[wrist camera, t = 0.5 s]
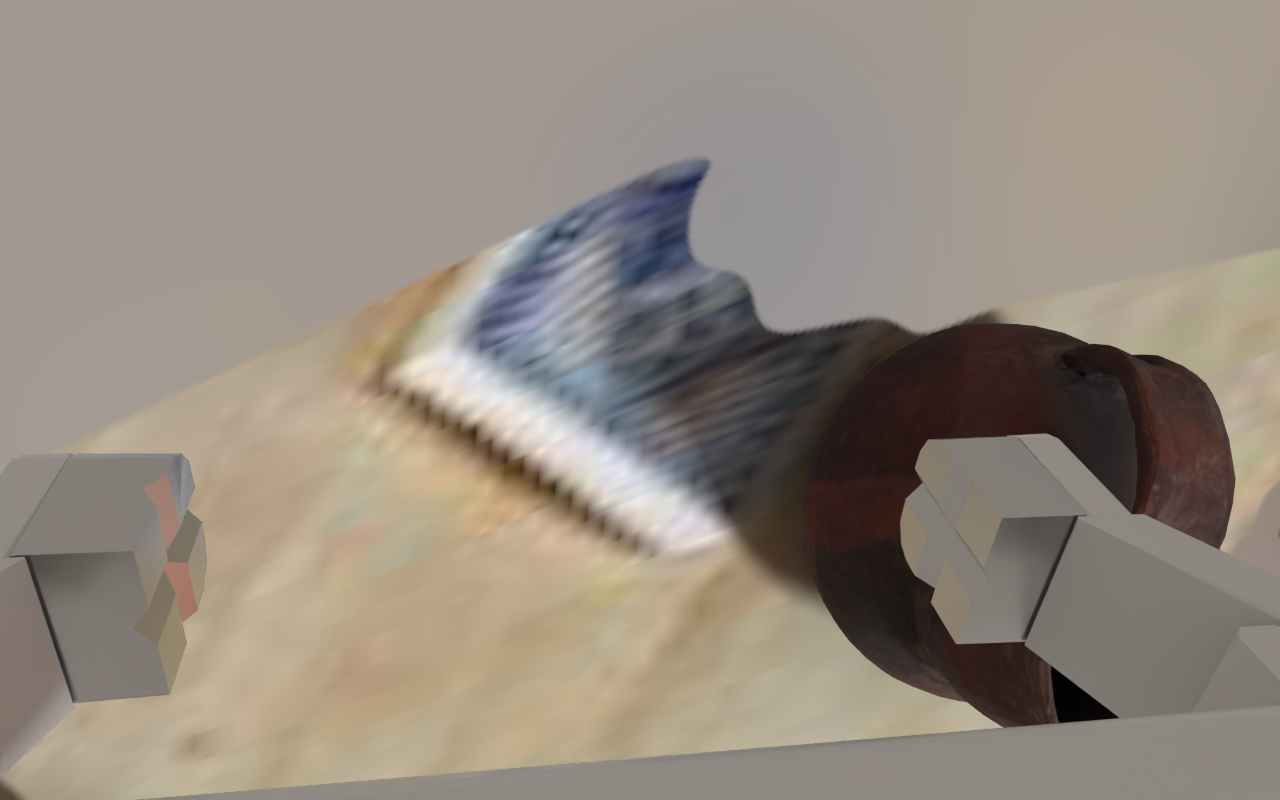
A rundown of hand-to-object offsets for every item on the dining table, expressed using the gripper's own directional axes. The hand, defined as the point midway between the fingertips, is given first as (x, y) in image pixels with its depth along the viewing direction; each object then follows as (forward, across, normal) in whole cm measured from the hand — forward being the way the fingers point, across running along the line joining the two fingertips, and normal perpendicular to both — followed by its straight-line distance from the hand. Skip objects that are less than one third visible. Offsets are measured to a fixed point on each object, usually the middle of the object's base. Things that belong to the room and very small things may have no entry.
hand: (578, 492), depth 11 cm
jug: (+43, +32, -34) cm, 63 cm away
